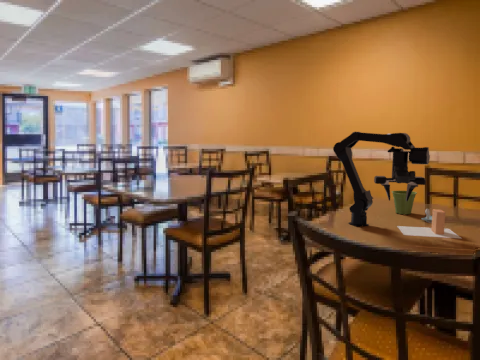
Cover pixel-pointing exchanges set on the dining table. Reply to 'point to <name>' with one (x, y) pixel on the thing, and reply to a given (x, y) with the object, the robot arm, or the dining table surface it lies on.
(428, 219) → the pacifier
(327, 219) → the dining table surface
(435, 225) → the orange block
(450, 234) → the mat
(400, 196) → the plant pot
